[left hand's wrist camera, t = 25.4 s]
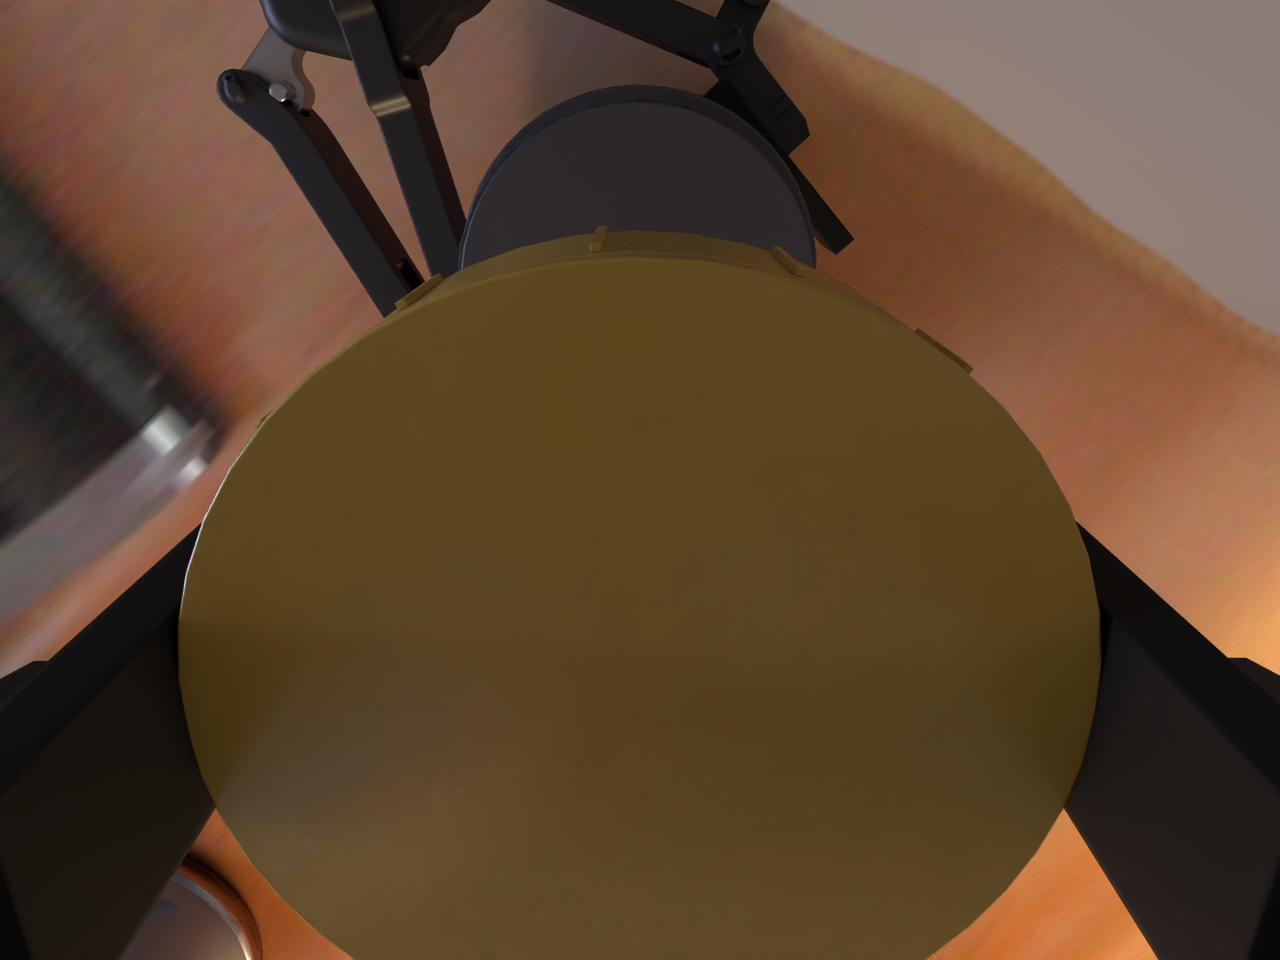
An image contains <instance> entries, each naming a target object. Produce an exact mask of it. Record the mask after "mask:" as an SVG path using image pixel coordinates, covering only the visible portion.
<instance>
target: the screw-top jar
mask: <svg viewBox="0 0 1280 960" xmlns="http://www.w3.org/2000/svg"><path fill="white" fill-rule="evenodd" d="M602 225H606V226H607V233H608V232H619V231H631V230H633V231H653V232H673V233H691V234H696V235H701V236H707V237H712V238H717V239H723V240H728V241H733V242H739V243H744V244H748V245H751V246H754V247H757V248H760V249H763V250H766V251H769V252H770V251H771V248H772V245H775V246H778V247H781V248H782V249H783V250H784V251H786V252H787V253H788V254H789V255H790V256H791V257H793V258H794V259H795V260H796V261H799V262H802V263H804V264H806V265H808V266H810V267H812V268H814V269H816V248H815V241H814V233H813V228H812V224H811V220H810V216H809V213H808V209H807V206H806V203H805V201H804V198H803V196H802V194H801V191H800V189H799V186H798V184H797V182H796V181H795V179H794V177H793V175H792V174H791V172H790V170H789V169H788V167H787V165H786V163H785V162H784V161H783V160H782V158H781V157H780V156H779V154H778V153H777V152H776V151H775V149H774V148H773V147H772V145H771V144H770V143H769V142H768V141H767V140H766V139H765V138H764V137H763V136H762V135H761V134H760V133H759V132H758V131H757V130H756V129H755V128H753V127H752V126H751V125H750V124H748V123H747V122H746V121H744V120H743V119H742V118H740V117H739V116H737V115H736V114H735V113H733V112H732V111H730V110H728V109H726V108H724V107H722V106H721V105H719V104H717V103H715V102H713V101H711V100H709V99H706V98H703V97H701V96H698V95H695V94H693V93H690V92H687V91H682V90H678V89H673V88H668V87H664V86H651V85H626V86H613V87H608V88H604V89H599V90H595V91H590V92H587V93H584V94H582V95H579V96H576V97H574V98H571V99H568V100H566V101H564V102H562V103H560V104H558V105H556V106H554V107H553V108H551V109H549V110H547V111H545V112H544V113H542V114H541V115H539V116H538V117H537V118H535V119H534V120H533V121H531V122H530V123H529V124H527V125H526V126H525V127H523V128H522V129H521V130H520V131H519V132H518V133H517V134H516V135H515V136H514V137H513V138H512V139H511V140H510V141H509V142H508V143H507V144H506V145H505V147H504V148H503V149H502V151H501V152H500V153H499V155H498V156H497V157H496V158H495V160H494V161H493V162H492V164H491V165H490V167H489V169H488V171H487V172H486V174H485V176H484V178H483V179H482V181H481V183H480V185H479V187H478V189H477V192H476V194H475V197H474V199H473V202H472V204H471V207H470V210H469V214H468V218H467V222H466V225H465V229H464V233H463V236H462V239H461V242H460V249H459V269H458V271H460V270H462V269H464V268H466V267H469V266H471V265H474V264H477V263H479V262H482V261H485V260H487V259H490V258H493V257H495V256H498V255H501V254H503V253H506V252H509V251H511V250H514V249H517V248H520V247H525V246H529V245H533V244H538V243H542V242H547V241H551V240H556V239H560V238H565V237H569V236H574V235H584V234H594V233H595V231H596V229H597V226H602Z"/></svg>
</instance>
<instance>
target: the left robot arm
mask: <svg viewBox="0 0 1280 960" xmlns="http://www.w3.org/2000/svg"><path fill="white" fill-rule="evenodd" d="M1075 521H1076V520H1075ZM201 524H202V523H201ZM201 524H199V525H198V526H197V527H196V528H195V529H194V530H193V531H192V532H191V533H189V534H188V535H187V536H186V537H185V538H184V539H183V540H182V541H181V542H179V543H178V544H177V545H176V546H175V547H174V548H173V549H172V550H171V551H169V552H168V553H167V554H166V555H165V556H164V557H163V558H162V559H161V560H159V561H158V562H157V563H156V564H155V565H154V566H153V567H152V568H151V569H149V570H148V571H147V572H146V573H145V574H144V575H143V576H142V577H141V578H139V579H138V580H137V581H136V582H135V583H134V584H133V585H132V586H131V587H130V588H128V589H127V590H126V591H125V592H124V593H123V594H122V595H121V596H120V597H118V598H117V599H116V600H115V601H114V602H113V603H112V604H111V605H110V606H108V607H107V608H106V609H105V610H104V611H103V612H102V613H101V614H100V615H98V616H97V617H96V618H95V619H94V620H93V621H92V622H91V623H90V624H88V625H87V626H86V627H85V628H84V629H83V630H82V631H81V632H80V633H78V634H77V635H76V636H75V637H74V638H73V639H72V640H71V641H70V642H68V643H67V644H66V645H65V646H64V647H63V648H62V649H61V650H60V651H59V652H57V653H56V654H55V655H54V656H53V657H52V658H51V659H50V660H49V661H33V662H31V663H29V664H27V665H25V666H23V667H22V668H20V669H18V670H16V671H14V672H12V673H10V674H9V675H7V676H5V677H3V678H1V679H0V960H263V951H262V944H261V939H260V936H259V932H258V929H257V927H256V925H255V922H254V920H253V918H252V917H251V915H250V913H249V911H248V910H247V908H246V907H245V905H244V904H243V903H242V901H241V900H240V899H239V898H238V896H237V895H236V894H235V893H234V892H233V891H232V890H231V889H230V888H229V887H228V886H227V885H226V884H225V883H224V882H223V881H222V880H220V879H219V878H218V877H217V876H216V875H214V874H213V873H211V872H210V871H209V870H207V869H206V868H204V867H203V866H201V865H200V864H198V863H196V862H195V861H193V860H191V859H189V858H187V857H185V856H186V855H187V853H188V851H189V850H190V848H191V847H192V845H193V843H194V842H195V840H196V838H197V837H198V835H199V834H200V832H201V830H202V829H203V827H204V826H205V824H206V822H207V821H208V819H209V818H210V816H211V814H212V813H213V811H214V810H215V808H216V806H215V804H214V802H213V800H212V798H211V796H210V794H209V792H208V789H207V787H206V785H205V783H204V781H203V779H202V777H201V774H200V771H199V768H198V764H197V761H196V758H195V754H194V750H193V746H192V742H191V738H190V734H189V729H188V725H187V720H186V715H185V710H184V705H183V700H182V695H181V690H180V685H179V680H178V621H179V615H180V609H181V602H182V596H183V589H184V583H185V576H186V571H187V568H188V564H189V561H190V558H191V555H192V552H193V549H194V546H195V543H196V540H197V537H198V534H199V531H200V528H201ZM1076 524H1077V527H1078V529H1079V532H1080V535H1081V537H1082V540H1083V543H1084V545H1085V548H1086V551H1087V553H1088V556H1089V560H1090V565H1091V570H1092V575H1093V580H1094V585H1095V590H1096V595H1097V600H1098V605H1099V611H1100V635H1101V662H1102V665H1101V674H1100V682H1099V691H1098V696H1097V701H1096V706H1095V711H1094V717H1093V721H1092V725H1091V730H1090V734H1089V738H1088V743H1087V747H1086V751H1085V756H1084V760H1083V763H1082V766H1081V768H1080V770H1079V773H1078V775H1077V777H1076V780H1075V782H1074V784H1073V787H1072V789H1071V791H1070V793H1069V796H1068V798H1067V800H1066V803H1065V805H1064V809H1065V811H1066V812H1067V814H1068V815H1069V817H1070V819H1071V820H1072V822H1073V823H1074V825H1075V827H1076V828H1077V830H1078V831H1079V833H1080V835H1081V836H1082V838H1083V839H1084V841H1085V843H1086V844H1087V846H1088V847H1089V849H1090V851H1091V852H1092V854H1093V855H1094V857H1095V859H1096V860H1097V862H1098V863H1099V865H1100V867H1101V868H1102V870H1103V872H1104V873H1105V875H1106V876H1107V878H1108V880H1109V881H1110V883H1111V884H1112V886H1113V888H1114V889H1115V891H1116V892H1117V894H1118V896H1119V897H1120V899H1121V900H1122V902H1123V904H1124V905H1125V907H1126V908H1127V910H1128V912H1129V913H1130V915H1131V916H1132V918H1133V920H1134V921H1135V923H1136V924H1137V926H1138V928H1139V929H1140V931H1141V932H1142V934H1143V936H1144V937H1145V939H1146V941H1147V942H1148V944H1149V945H1150V947H1151V949H1152V950H1153V952H1154V953H1155V955H1156V957H1157V958H1158V960H1280V675H1278V674H1276V673H1274V672H1272V671H1270V670H1268V669H1266V668H1265V667H1263V666H1261V665H1259V664H1257V663H1255V662H1253V661H1251V660H1250V659H1248V658H1228V657H1226V656H1225V655H1224V654H1223V653H1222V652H1221V651H1220V650H1219V649H1218V648H1216V647H1215V646H1214V645H1213V644H1212V643H1211V642H1210V641H1209V640H1208V639H1206V638H1205V637H1204V636H1203V635H1202V634H1201V633H1200V632H1199V631H1198V630H1196V629H1195V628H1194V627H1193V626H1192V625H1191V624H1190V623H1189V622H1188V621H1186V620H1185V619H1184V618H1183V617H1182V616H1181V615H1180V614H1179V613H1178V612H1176V611H1175V610H1174V609H1173V608H1172V607H1171V606H1170V605H1169V604H1168V603H1166V602H1165V601H1164V600H1163V599H1162V598H1161V597H1160V596H1159V595H1158V594H1157V593H1155V592H1154V591H1153V590H1152V589H1151V588H1150V587H1149V586H1148V585H1147V584H1145V583H1144V582H1143V581H1142V580H1141V579H1140V578H1139V577H1138V576H1137V575H1135V574H1134V573H1133V572H1132V571H1131V570H1130V569H1129V568H1128V567H1127V566H1125V565H1124V564H1123V563H1122V562H1121V561H1120V560H1119V559H1118V558H1117V557H1115V556H1114V555H1113V554H1112V553H1111V552H1110V551H1109V550H1108V549H1107V548H1105V547H1104V546H1103V545H1102V544H1101V543H1100V542H1099V541H1098V540H1097V539H1096V538H1094V537H1093V536H1092V535H1091V534H1090V533H1089V532H1088V531H1087V530H1086V529H1084V528H1083V527H1082V526H1081V525H1080V524H1079V523H1078V522H1077V521H1076Z"/></svg>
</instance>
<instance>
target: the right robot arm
mask: <svg viewBox="0 0 1280 960" xmlns="http://www.w3.org/2000/svg"><path fill="white" fill-rule="evenodd" d="M259 1H260V3H261V6H262V9H263V12H264V15H265V18H266V20H267V23H268V24H269V28H268V29H267V31H266V32H265V34H264V35H263V37H262V38H261V40H260V41H259V43H258V44H257V46H256V47H255V49H254V51H253V52H252V54H251V55H250V57H249V58H248V60H247V61H246V63H245V64H244V66H243V67H242V68H241V69H240V70H237V69H229V70H226V71H224V72H223V73H222V74H221V75H220V76H219V78H218V81H217V93H218V95H219V98H220V100H221V101H222V102H223V103H224V104H225V105H226V106H227V107H228V108H229V109H230V110H231V111H233V112H234V113H235V114H236V115H237V116H239V117H240V118H241V119H242V120H243V121H245V122H246V123H247V124H248V125H249V126H251V127H252V128H253V129H254V130H255V131H257V132H258V133H259V134H260V135H261V136H263V137H264V138H265V139H266V140H267V141H269V142H270V143H271V144H272V146H273V147H274V149H275V151H276V152H277V154H278V155H279V157H280V158H281V160H282V161H283V163H284V164H285V166H286V167H287V169H288V171H289V172H290V174H291V175H292V177H293V178H294V180H295V181H296V183H297V184H298V186H299V188H300V189H301V191H302V192H303V194H304V195H305V197H306V198H307V200H308V201H309V203H310V204H311V206H312V208H313V209H314V211H315V212H316V214H317V215H318V217H319V218H320V220H321V221H322V223H323V225H324V226H325V228H326V229H327V231H328V232H329V234H330V235H331V237H332V238H333V240H334V242H335V243H336V245H337V246H338V248H339V249H340V251H341V252H342V254H343V255H344V257H345V258H346V260H347V262H348V263H349V265H350V266H351V268H352V269H353V271H354V272H355V274H356V275H357V277H358V279H359V280H360V282H361V283H362V285H363V286H364V288H365V289H366V291H367V292H368V294H369V295H370V297H371V299H372V300H373V302H374V303H375V305H376V306H377V308H378V309H379V311H380V312H381V314H382V316H383V317H384V318H385V317H386V316H388V315H389V314H391V313H392V312H393V311H395V310H396V309H397V307H396V305H395V303H396V302H398V301H399V300H400V299H402V298H403V297H405V296H406V295H407V294H409V293H410V292H412V291H413V290H414V289H416V288H417V287H419V286H420V285H421V284H423V283H424V282H425V281H424V279H423V277H422V276H421V274H420V273H419V271H418V269H417V268H416V266H415V265H414V263H413V261H412V260H411V258H410V257H409V255H408V253H407V252H406V250H405V249H404V247H403V245H402V244H401V242H400V240H399V239H398V237H397V236H396V234H395V232H394V231H393V229H392V228H391V226H390V224H389V223H388V221H387V220H386V218H385V216H384V215H383V213H382V212H381V210H380V208H379V207H378V205H377V204H376V202H375V200H374V199H373V197H372V196H371V194H370V192H369V191H368V189H367V188H366V186H365V184H364V183H363V181H362V179H361V178H360V176H359V175H358V173H357V171H356V170H355V168H354V167H353V165H352V163H351V162H350V160H349V159H348V157H347V155H346V154H345V152H344V151H343V149H342V147H341V146H340V144H339V143H338V141H337V139H336V138H335V136H334V135H333V133H332V132H331V131H330V129H329V128H328V126H327V125H326V124H325V123H324V121H323V120H322V119H321V118H320V117H319V116H318V114H317V113H316V112H315V111H314V110H313V109H312V108H311V107H312V106H313V104H314V100H315V92H314V89H313V86H312V84H311V83H310V82H309V80H308V79H307V77H306V76H305V74H304V71H303V67H302V60H303V56H304V54H305V52H306V51H311V52H315V53H319V54H324V55H328V56H333V57H337V58H341V59H346V60H350V61H353V64H354V67H355V70H356V72H357V75H358V78H359V81H360V84H361V87H362V90H363V93H364V96H365V98H366V101H367V103H368V105H369V107H370V109H371V111H372V112H373V113H374V115H375V116H376V118H377V121H378V123H379V126H380V129H381V132H382V135H383V138H384V141H385V144H386V146H387V149H388V152H389V155H390V158H391V161H392V164H393V167H394V170H395V173H396V175H397V178H398V181H399V184H400V187H401V190H402V193H403V196H404V199H405V202H406V205H407V207H408V210H409V213H410V216H411V219H412V222H413V225H414V228H415V231H416V234H417V237H418V239H419V242H420V245H421V248H422V251H423V254H424V257H425V260H426V263H427V266H428V268H429V271H430V274H431V277H433V276H435V275H436V274H438V273H439V274H440V275H441V277H442V278H443V280H444V279H445V278H447V277H449V276H451V275H453V274H455V273H456V272H458V269H459V249H460V242H461V239H462V236H463V233H464V229H465V225H466V218H465V215H464V212H463V209H462V206H461V203H460V200H459V197H458V194H457V191H456V187H455V184H454V181H453V178H452V175H451V172H450V169H449V166H448V163H447V160H446V156H445V153H444V150H443V147H442V144H441V141H440V138H439V135H438V132H437V129H436V126H435V122H434V119H433V116H432V113H431V110H430V99H429V94H428V91H427V88H426V85H425V81H424V78H423V75H422V72H421V69H420V67H422V66H424V65H427V66H430V65H431V64H432V63H433V62H434V61H435V60H436V59H437V58H438V57H439V56H440V54H441V53H442V52H443V51H444V50H445V49H446V47H447V45H448V43H449V41H450V39H451V37H452V35H453V33H454V31H455V30H456V28H457V26H458V25H460V24H461V23H463V22H465V21H466V20H468V19H470V18H472V17H473V16H475V15H477V14H478V13H480V12H481V10H482V9H483V8H484V7H485V6H486V5H487V4H488V3H489V2H490V1H491V0H259ZM547 1H549V2H552V3H554V4H556V5H559V6H561V7H564V8H566V9H568V10H571V11H573V12H575V13H578V14H580V15H583V16H585V17H587V18H590V19H592V20H594V21H597V22H599V23H602V24H604V25H606V26H609V27H611V28H613V29H616V30H618V31H621V32H623V33H625V34H628V35H630V36H632V37H635V38H637V39H640V40H642V41H644V42H647V43H649V44H651V45H654V46H656V47H659V48H661V49H663V50H666V51H668V52H670V53H673V54H675V55H678V56H680V57H682V58H685V59H687V60H689V61H692V62H694V63H697V64H699V65H701V66H704V67H706V68H708V69H711V71H712V72H713V73H714V74H715V76H716V77H717V78H718V79H719V81H718V82H717V83H716V84H715V85H714V86H713V87H712V88H711V89H710V90H709V91H708V92H707V93H706V94H705V95H704V96H703V98H706V99H709V100H711V101H713V102H715V103H717V104H719V105H721V106H722V107H724V108H726V109H728V110H730V111H732V112H733V113H735V114H736V115H737V116H739V117H740V118H742V119H743V120H744V121H746V122H747V123H748V124H750V125H751V126H752V127H753V128H755V129H756V130H757V131H758V132H759V133H760V134H761V135H762V136H763V137H764V138H765V139H766V140H767V141H768V142H769V143H770V144H771V145H772V147H773V148H774V149H775V151H776V152H777V153H778V154H779V156H780V157H781V158H782V160H783V161H784V162H785V163H786V165H787V167H788V169H789V170H790V172H791V174H792V175H793V177H794V179H795V181H796V182H797V184H798V186H799V189H800V191H801V194H802V196H803V198H804V201H805V203H806V206H807V209H808V213H809V216H810V220H811V224H812V228H813V233H814V236H815V238H816V239H817V240H818V241H819V242H820V244H821V245H822V246H824V247H825V248H827V249H828V250H830V251H831V252H832V253H834V254H835V255H837V254H838V253H839V252H840V251H841V250H842V249H844V248H845V247H846V246H847V245H848V244H849V243H851V242H852V241H853V240H854V238H853V237H852V236H851V234H850V233H849V232H848V231H847V229H846V228H845V227H844V226H843V224H842V223H841V222H840V220H839V219H838V218H837V217H836V215H835V214H834V213H833V212H832V210H831V209H830V208H829V207H828V205H827V204H826V203H825V202H824V200H823V199H822V198H821V196H820V195H819V194H818V193H817V191H816V190H815V189H814V188H813V186H812V185H811V184H810V183H809V181H808V180H807V179H806V178H805V176H804V175H803V174H802V173H801V171H800V170H799V169H798V167H797V166H796V165H795V164H794V162H793V161H792V160H791V159H790V157H789V156H788V155H789V154H790V153H791V152H792V151H793V150H794V149H795V148H797V147H798V146H799V145H800V144H801V143H802V142H803V141H804V140H805V139H806V138H808V137H809V136H810V134H809V130H808V127H807V123H806V119H805V117H804V116H803V115H802V114H801V112H800V111H799V110H798V108H797V107H796V106H795V105H794V104H793V102H792V101H791V99H790V98H789V97H788V96H787V94H786V93H785V92H784V90H783V89H782V88H781V87H780V85H779V84H778V83H777V81H776V80H775V79H774V77H773V76H772V75H771V74H770V72H769V71H768V70H767V68H766V67H765V66H764V65H763V63H762V62H761V61H760V59H759V58H758V56H757V55H756V53H755V50H754V46H753V36H754V31H755V29H756V26H757V24H758V22H759V20H760V18H761V16H762V15H763V13H764V11H765V9H766V7H767V5H768V3H769V1H770V0H724V2H723V4H722V6H721V8H720V10H719V12H718V14H717V16H716V18H715V17H713V16H710V15H708V14H706V13H703V12H701V11H699V10H696V9H694V8H692V7H689V6H687V5H685V4H682V3H680V2H678V1H675V0H547Z"/></svg>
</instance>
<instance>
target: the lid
mask: <svg viewBox="0 0 1280 960" xmlns="http://www.w3.org/2000/svg"><path fill="white" fill-rule="evenodd" d="M395 305H396V307H397V309H396V310H395V311H393V312H392V313H391V314H389V315H388V316H386V317H385V318H384V319H382V320H381V321H380V322H378V323H377V324H376V325H374V326H373V327H372V328H370V329H369V330H368V331H366V332H365V333H364V334H362V335H361V336H360V337H358V338H357V339H356V340H354V341H353V342H352V343H350V344H349V345H347V346H346V347H345V348H343V349H342V350H341V351H339V352H338V353H337V354H335V355H334V356H333V357H331V358H330V359H329V360H327V361H326V362H325V363H323V364H322V365H321V366H319V367H318V368H317V369H315V370H314V371H313V372H311V373H310V374H309V375H308V376H307V377H306V378H305V379H304V380H303V381H302V382H301V383H300V384H299V385H298V386H297V387H296V388H295V389H294V390H293V391H292V392H291V393H290V394H289V395H288V396H287V397H286V398H285V399H284V400H283V401H282V402H281V403H280V404H279V405H278V406H277V407H276V408H275V409H274V410H272V411H271V412H270V413H269V414H267V415H266V416H265V417H263V418H262V419H261V420H260V421H259V422H258V424H257V425H256V428H258V429H257V430H256V432H255V433H254V434H253V436H252V437H251V439H250V440H249V441H248V443H247V444H246V445H245V447H244V448H243V449H242V451H241V452H240V454H239V455H238V456H237V458H236V459H235V460H234V462H233V463H232V465H231V466H230V468H229V469H228V471H227V473H226V475H225V477H224V479H223V481H222V483H221V485H220V487H219V489H218V491H217V493H216V495H215V497H214V499H213V501H212V503H211V505H210V507H209V509H208V510H207V512H206V514H205V516H204V518H203V521H202V524H201V528H200V531H199V534H198V537H197V540H196V543H195V546H194V549H193V552H192V555H191V558H190V561H189V564H188V568H187V571H186V576H185V583H184V589H183V596H182V602H181V609H180V615H179V621H178V680H179V685H180V690H181V695H182V700H183V705H184V710H185V715H186V720H187V725H188V729H189V734H190V738H191V742H192V746H193V750H194V754H195V758H196V761H197V764H198V768H199V771H200V774H201V777H202V779H203V781H204V783H205V785H206V787H207V789H208V792H209V794H210V796H211V798H212V800H213V802H214V804H215V806H216V808H217V810H218V812H219V814H220V816H221V819H222V821H223V822H224V824H225V825H226V827H227V829H228V830H229V832H230V833H231V835H232V836H233V838H234V839H235V841H236V842H237V844H238V845H239V847H240V848H241V850H242V851H243V853H244V854H245V856H246V857H247V859H248V860H249V862H250V863H251V865H252V866H253V867H254V868H255V869H256V870H257V872H258V873H259V874H260V875H261V876H262V877H263V879H264V880H265V881H266V882H267V883H268V884H269V885H270V887H271V888H272V889H273V890H274V891H275V892H276V894H277V895H278V896H279V897H280V898H281V899H282V901H283V902H284V903H286V904H287V905H288V906H289V907H290V908H291V909H292V910H293V911H294V912H295V913H296V914H298V915H299V916H300V917H301V918H302V919H303V920H304V921H305V922H306V923H307V924H309V925H310V926H311V927H312V928H313V929H314V930H315V931H316V932H317V933H318V934H319V935H321V936H322V937H324V938H325V939H326V940H328V941H329V942H330V943H332V944H333V945H335V946H336V947H337V948H339V949H340V950H341V951H343V952H344V953H346V954H347V955H348V956H350V957H351V958H353V959H354V960H925V959H927V958H928V957H930V956H931V955H933V954H934V953H935V952H937V951H938V950H939V949H940V948H942V947H943V946H944V945H946V944H947V943H948V942H950V941H951V940H952V939H953V938H955V937H956V936H957V935H959V934H960V933H961V932H962V931H964V930H965V929H966V928H968V927H969V926H970V925H971V924H972V923H973V922H974V921H975V920H976V919H977V918H978V917H979V916H980V915H981V914H982V913H983V912H984V911H985V910H987V909H988V908H989V907H990V906H991V905H992V904H993V903H994V902H995V901H996V900H997V899H998V898H999V897H1000V896H1001V895H1002V894H1003V893H1004V892H1005V891H1006V890H1007V888H1008V887H1009V886H1010V885H1011V883H1012V882H1013V881H1014V880H1015V878H1016V877H1017V876H1018V875H1019V873H1020V872H1021V871H1022V870H1023V869H1024V867H1025V866H1026V865H1027V864H1028V862H1029V861H1030V860H1031V859H1032V857H1033V856H1034V855H1035V854H1036V852H1037V851H1038V849H1039V847H1040V846H1041V844H1042V842H1043V841H1044V839H1045V837H1046V836H1047V834H1048V833H1049V831H1050V829H1051V828H1052V826H1053V824H1054V823H1055V821H1056V819H1057V818H1058V816H1059V815H1060V813H1061V811H1062V809H1063V807H1064V805H1065V803H1066V800H1067V798H1068V796H1069V793H1070V791H1071V789H1072V787H1073V784H1074V782H1075V780H1076V777H1077V775H1078V773H1079V770H1080V768H1081V766H1082V763H1083V760H1084V756H1085V751H1086V747H1087V743H1088V738H1089V734H1090V730H1091V725H1092V721H1093V717H1094V711H1095V706H1096V701H1097V696H1098V691H1099V682H1100V674H1101V665H1102V662H1101V635H1100V611H1099V605H1098V600H1097V595H1096V590H1095V585H1094V580H1093V575H1092V570H1091V565H1090V560H1089V556H1088V553H1087V551H1086V548H1085V545H1084V543H1083V540H1082V537H1081V535H1080V532H1079V529H1078V527H1077V524H1076V521H1075V518H1074V516H1073V513H1072V510H1071V508H1070V505H1069V503H1068V501H1067V500H1066V498H1065V496H1064V494H1063V493H1062V491H1061V489H1060V487H1059V485H1058V484H1057V482H1056V480H1055V478H1054V477H1053V475H1052V473H1051V471H1050V470H1049V468H1048V466H1047V464H1046V462H1045V461H1044V459H1043V457H1042V455H1041V454H1040V452H1039V451H1038V450H1037V449H1036V447H1035V446H1034V445H1033V444H1032V442H1031V441H1030V440H1029V439H1028V437H1027V436H1026V435H1025V433H1024V432H1023V431H1022V430H1021V428H1020V427H1019V426H1018V425H1017V423H1016V422H1015V421H1014V420H1013V418H1012V417H1011V416H1010V415H1009V413H1008V412H1007V411H1006V410H1005V408H1004V407H1003V406H1002V405H1001V404H1000V403H999V402H998V401H997V400H996V399H995V398H994V397H992V396H991V395H990V394H989V393H988V392H987V391H986V390H985V389H984V388H983V387H982V386H981V385H980V384H978V383H977V382H976V381H975V380H974V379H973V378H972V377H971V376H970V375H969V373H970V372H971V371H972V370H973V368H972V367H971V366H970V365H969V364H968V363H966V362H965V361H964V360H962V359H961V358H959V357H958V356H957V355H955V354H954V353H952V352H951V351H950V350H948V349H947V348H945V347H944V346H943V345H941V344H940V343H938V342H937V341H936V340H934V339H933V338H931V337H930V336H929V335H927V334H926V333H925V332H923V331H922V330H920V329H919V328H918V329H917V330H916V331H915V332H914V331H913V330H911V329H910V328H909V327H907V326H906V325H905V324H903V323H902V322H900V321H899V320H898V319H896V318H895V317H894V316H892V315H891V314H889V313H888V312H886V311H885V310H883V309H882V308H881V307H879V306H878V305H876V304H875V303H873V302H872V301H870V300H869V299H867V298H866V297H865V296H863V295H862V294H860V293H859V292H857V291H856V290H854V289H853V288H851V287H850V286H848V285H846V284H844V283H842V282H840V281H838V280H836V279H834V278H832V277H830V276H828V275H826V274H824V273H822V272H820V271H818V270H816V269H814V268H812V267H810V266H808V265H806V264H804V263H802V262H799V261H796V260H795V259H794V258H793V257H791V256H790V255H789V254H788V253H787V252H786V251H784V250H783V249H782V248H781V247H778V246H775V245H772V248H771V251H770V252H769V251H766V250H763V249H760V248H757V247H754V246H751V245H748V244H744V243H739V242H733V241H728V240H723V239H717V238H712V237H707V236H701V235H696V234H691V233H673V232H653V231H633V230H631V231H619V232H608V233H607V226H606V225H602V226H597V229H596V231H595V233H594V234H584V235H574V236H569V237H565V238H560V239H556V240H551V241H547V242H542V243H538V244H533V245H529V246H525V247H520V248H517V249H514V250H511V251H509V252H506V253H503V254H501V255H498V256H495V257H493V258H490V259H487V260H485V261H482V262H479V263H477V264H474V265H471V266H469V267H466V268H464V269H462V270H460V271H458V272H456V273H455V274H453V275H451V276H449V277H447V278H445V279H444V280H443V278H442V277H441V275H440V274H439V273H438V274H436V275H435V276H433V277H431V278H430V279H428V280H427V281H426V282H424V283H423V284H421V285H420V286H419V287H417V288H416V289H414V290H413V291H412V292H410V293H409V294H407V295H406V296H405V297H403V298H402V299H400V300H399V301H398V302H396V303H395Z"/></svg>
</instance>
